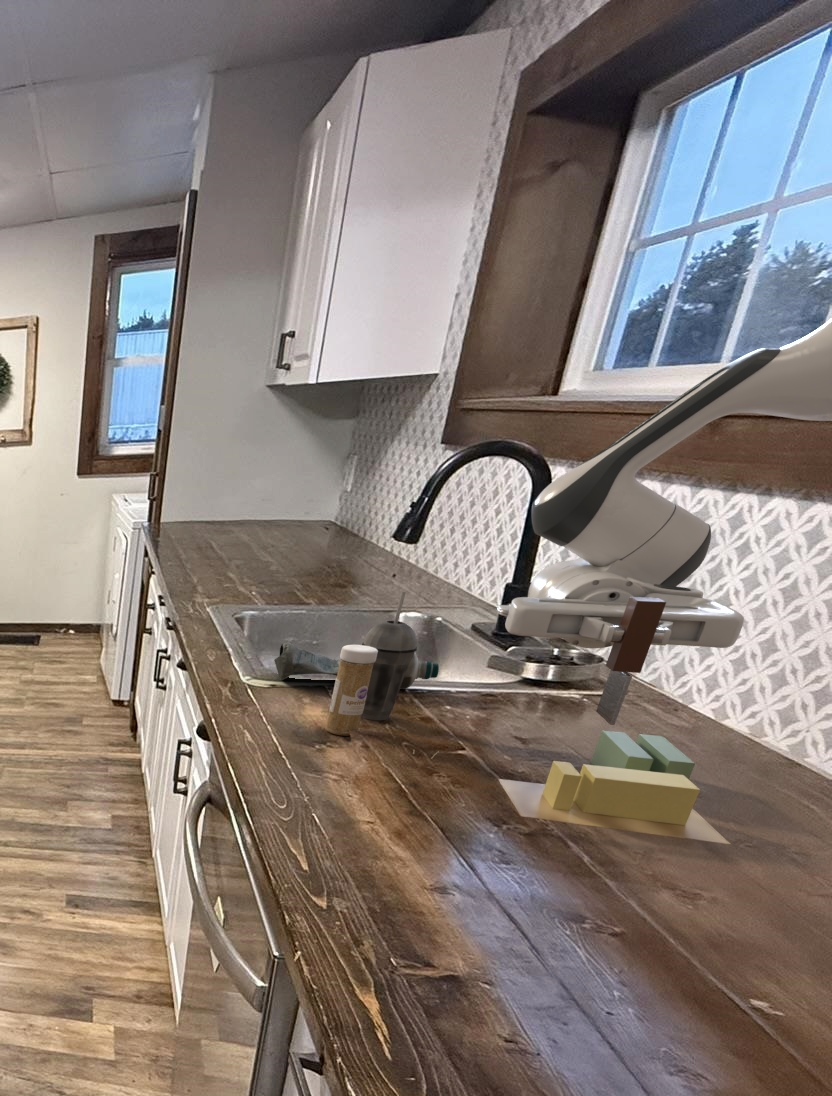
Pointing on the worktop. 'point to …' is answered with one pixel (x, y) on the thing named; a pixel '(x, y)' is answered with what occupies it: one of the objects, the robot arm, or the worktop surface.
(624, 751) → the knife block
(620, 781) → the butter
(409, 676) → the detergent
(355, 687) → the sprinkles bottle
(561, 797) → the butter slice
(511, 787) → the butter board
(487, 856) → the worktop surface
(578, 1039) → the worktop surface
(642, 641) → the wood-handled putty knife
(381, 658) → the beverage cup
